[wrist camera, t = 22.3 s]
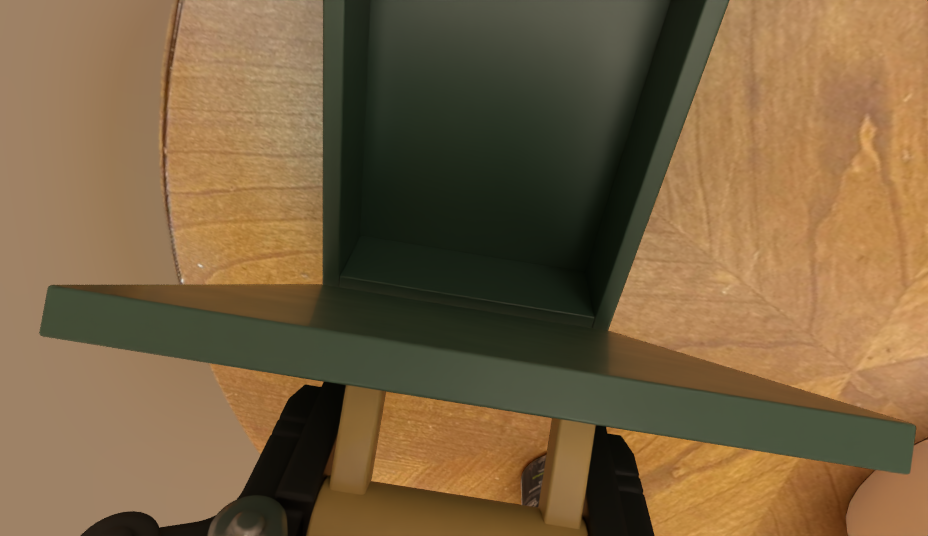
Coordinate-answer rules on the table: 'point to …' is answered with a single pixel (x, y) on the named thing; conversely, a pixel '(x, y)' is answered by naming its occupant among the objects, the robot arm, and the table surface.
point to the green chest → (502, 145)
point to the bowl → (892, 501)
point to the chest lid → (469, 390)
